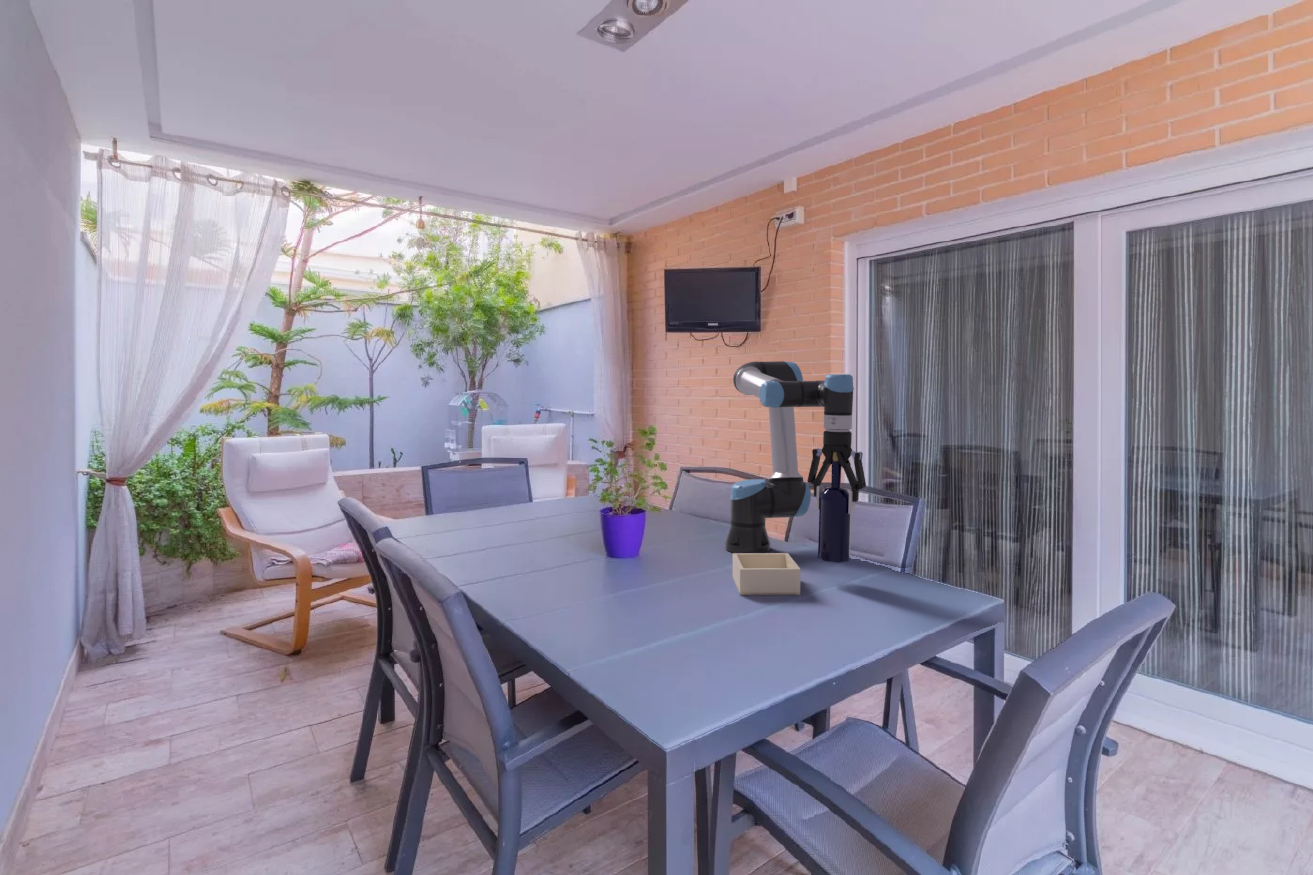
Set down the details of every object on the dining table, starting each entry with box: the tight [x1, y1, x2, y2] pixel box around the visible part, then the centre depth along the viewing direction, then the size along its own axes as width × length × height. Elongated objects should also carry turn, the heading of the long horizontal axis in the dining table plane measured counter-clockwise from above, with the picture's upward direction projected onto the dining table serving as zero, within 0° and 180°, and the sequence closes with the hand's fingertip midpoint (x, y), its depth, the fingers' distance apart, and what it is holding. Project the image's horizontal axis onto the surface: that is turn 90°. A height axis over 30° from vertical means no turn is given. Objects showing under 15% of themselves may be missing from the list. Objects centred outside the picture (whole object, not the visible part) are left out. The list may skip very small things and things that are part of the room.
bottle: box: [817, 452, 852, 563], centre depth 176 cm, size 9×9×30 cm
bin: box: [732, 552, 802, 596], centre depth 175 cm, size 16×16×7 cm
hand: (835, 510), depth 176 cm, fingers closed on bottle, 9 cm apart
